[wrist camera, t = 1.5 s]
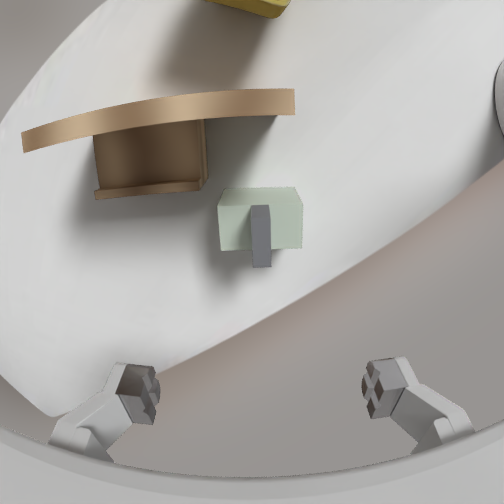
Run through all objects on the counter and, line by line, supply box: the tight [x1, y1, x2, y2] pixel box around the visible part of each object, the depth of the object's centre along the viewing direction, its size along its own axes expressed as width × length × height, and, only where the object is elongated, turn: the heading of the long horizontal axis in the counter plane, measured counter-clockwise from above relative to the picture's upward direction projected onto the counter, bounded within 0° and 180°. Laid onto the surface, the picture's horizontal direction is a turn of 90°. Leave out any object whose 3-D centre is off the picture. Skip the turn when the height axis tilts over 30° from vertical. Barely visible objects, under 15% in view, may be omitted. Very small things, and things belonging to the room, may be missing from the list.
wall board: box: [21, 89, 295, 200], centre depth 22 cm, size 18×8×13 cm, turn 92°
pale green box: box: [217, 187, 303, 268], centre depth 27 cm, size 7×4×9 cm, turn 92°
